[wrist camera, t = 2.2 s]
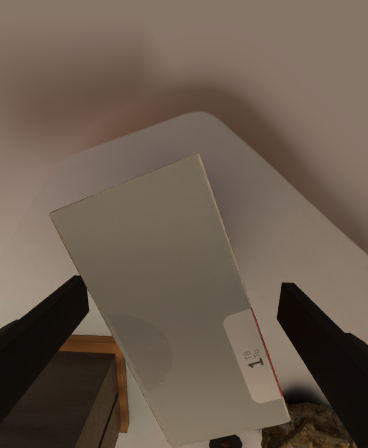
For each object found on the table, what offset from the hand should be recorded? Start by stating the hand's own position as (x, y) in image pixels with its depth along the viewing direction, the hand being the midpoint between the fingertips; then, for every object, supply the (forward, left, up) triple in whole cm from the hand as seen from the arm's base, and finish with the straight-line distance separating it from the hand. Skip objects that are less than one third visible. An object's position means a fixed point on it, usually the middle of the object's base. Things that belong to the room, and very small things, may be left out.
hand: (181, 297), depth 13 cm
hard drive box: (0, 0, -17) cm, 17 cm away
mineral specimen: (+36, +21, -17) cm, 45 cm away
